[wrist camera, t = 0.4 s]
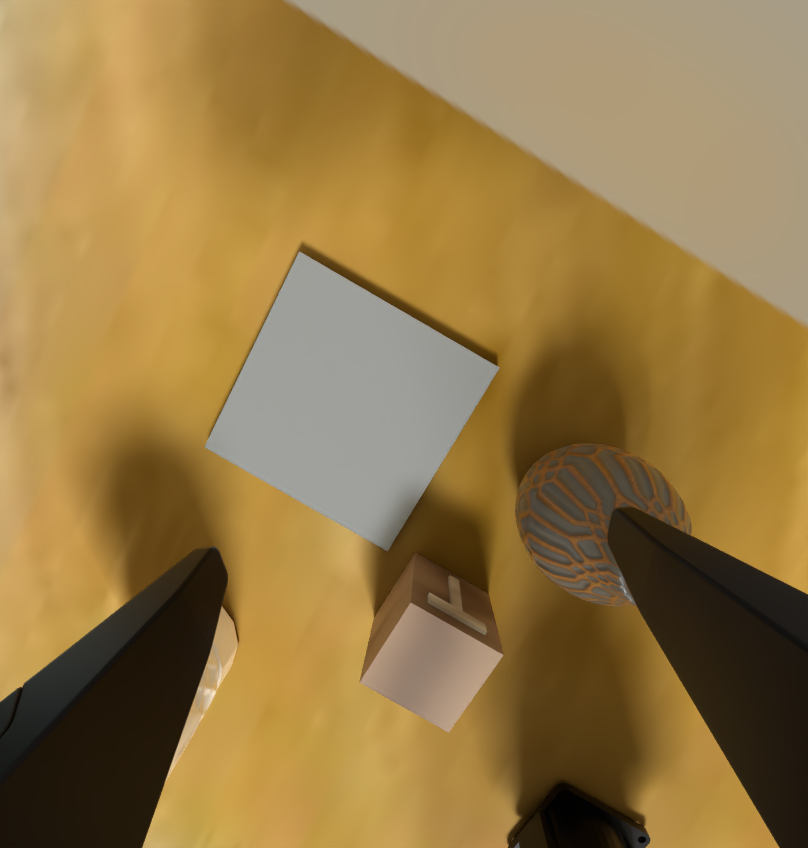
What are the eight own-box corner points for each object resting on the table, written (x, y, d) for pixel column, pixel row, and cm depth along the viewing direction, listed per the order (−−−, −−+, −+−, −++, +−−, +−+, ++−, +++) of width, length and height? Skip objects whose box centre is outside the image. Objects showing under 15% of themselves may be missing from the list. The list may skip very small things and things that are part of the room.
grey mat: (497, 367, 21) (499, 367, 20) (388, 546, 23) (387, 551, 22) (302, 254, 21) (299, 251, 20) (210, 445, 23) (204, 447, 22)
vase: (479, 500, 22) (509, 587, 14) (563, 406, 21) (653, 436, 12) (571, 574, 23) (658, 705, 14) (658, 485, 21) (812, 568, 13)
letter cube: (490, 590, 23) (506, 651, 18) (445, 656, 24) (448, 732, 19) (416, 548, 23) (412, 599, 18) (374, 616, 24) (359, 682, 19)
